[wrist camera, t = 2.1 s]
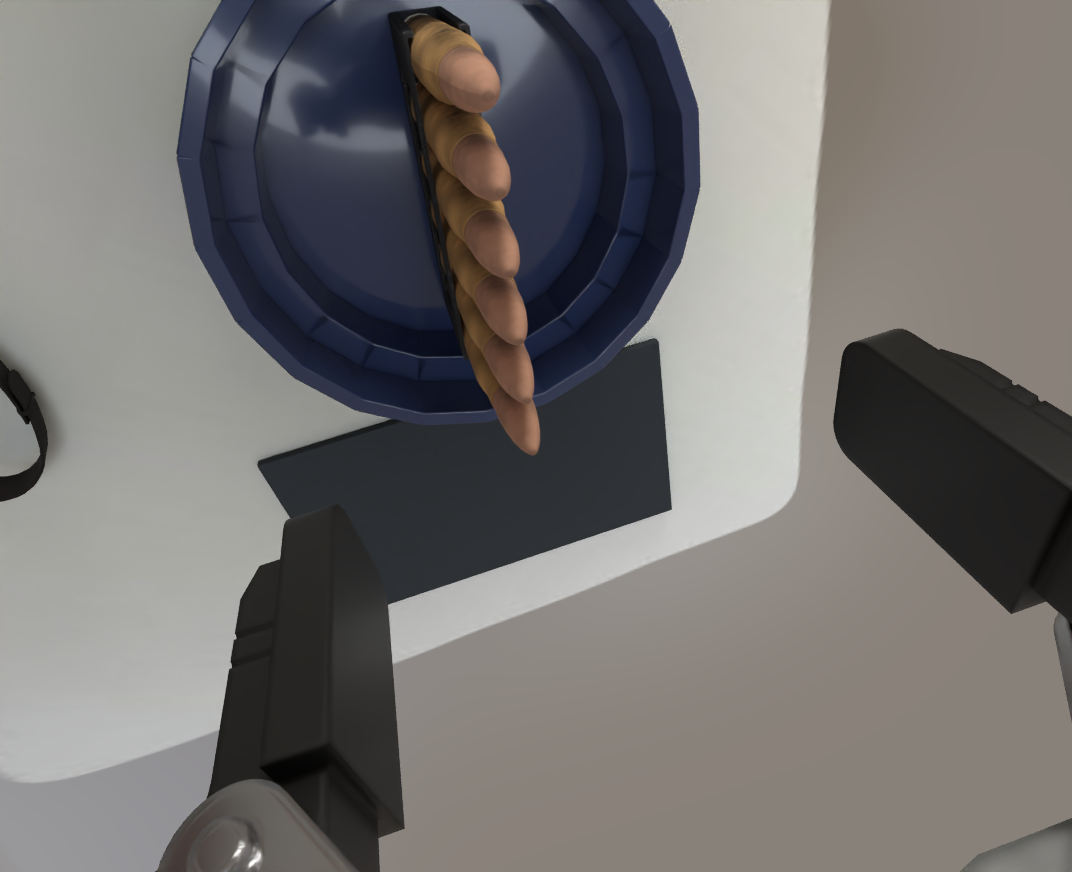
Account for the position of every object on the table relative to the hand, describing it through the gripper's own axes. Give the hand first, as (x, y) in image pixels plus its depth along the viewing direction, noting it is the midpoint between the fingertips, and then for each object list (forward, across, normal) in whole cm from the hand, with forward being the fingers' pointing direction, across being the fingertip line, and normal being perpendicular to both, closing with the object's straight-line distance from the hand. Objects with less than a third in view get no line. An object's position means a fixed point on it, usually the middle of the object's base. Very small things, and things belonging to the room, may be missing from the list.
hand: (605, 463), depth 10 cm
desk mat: (+18, +2, +16) cm, 25 cm away
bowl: (+18, 0, 0) cm, 18 cm away
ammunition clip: (+18, 0, 0) cm, 18 cm away
